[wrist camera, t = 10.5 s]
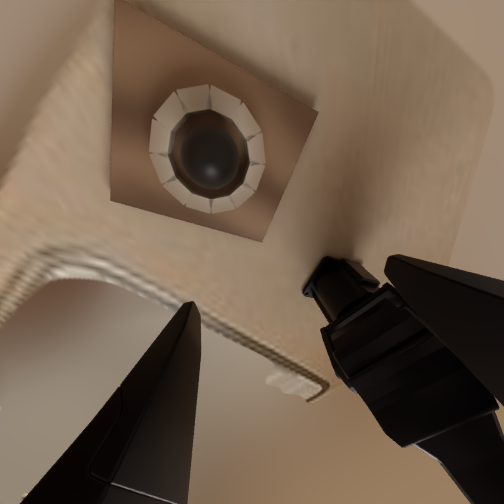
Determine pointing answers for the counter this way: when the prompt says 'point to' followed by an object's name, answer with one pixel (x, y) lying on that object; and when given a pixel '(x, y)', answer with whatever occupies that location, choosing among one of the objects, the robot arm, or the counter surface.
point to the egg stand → (190, 116)
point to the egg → (209, 156)
